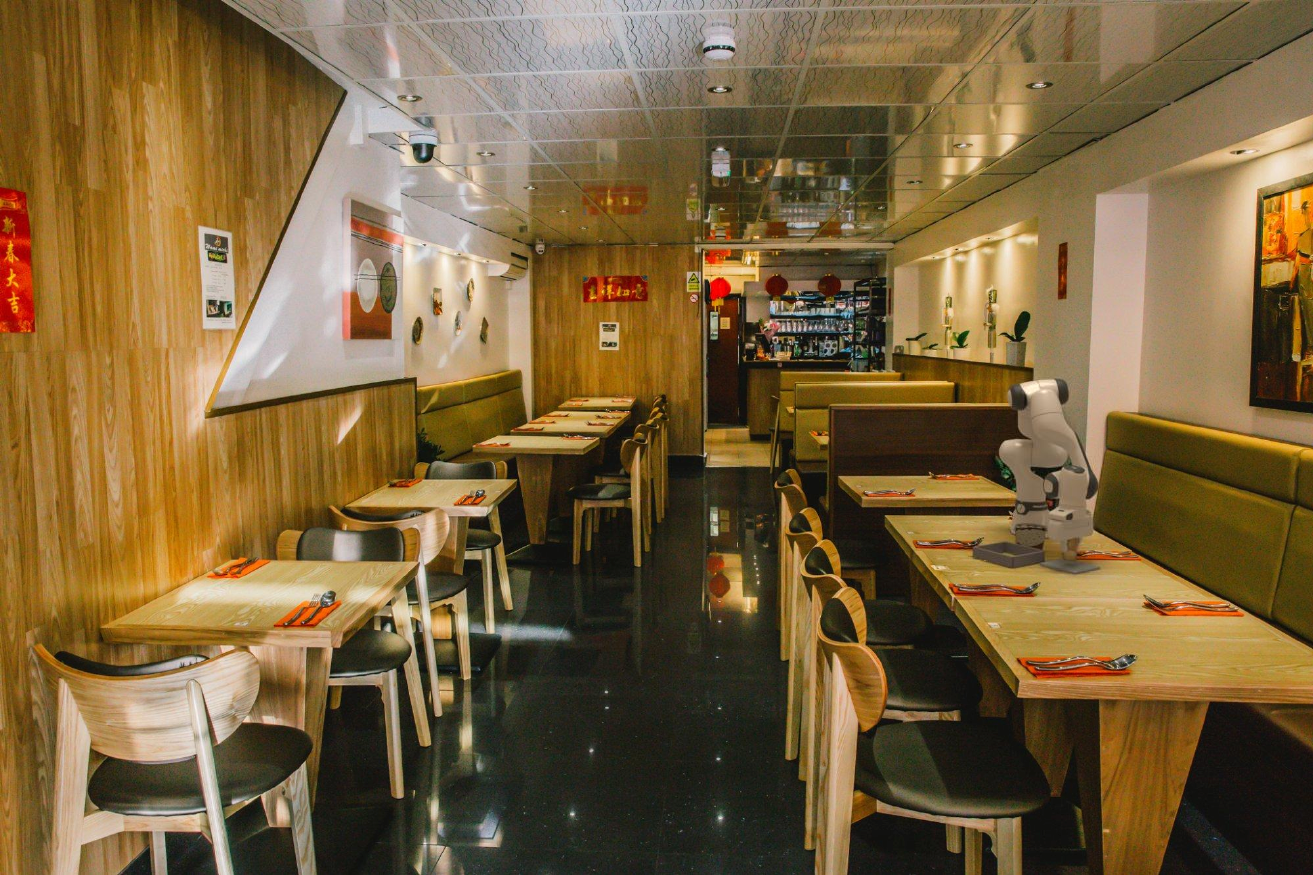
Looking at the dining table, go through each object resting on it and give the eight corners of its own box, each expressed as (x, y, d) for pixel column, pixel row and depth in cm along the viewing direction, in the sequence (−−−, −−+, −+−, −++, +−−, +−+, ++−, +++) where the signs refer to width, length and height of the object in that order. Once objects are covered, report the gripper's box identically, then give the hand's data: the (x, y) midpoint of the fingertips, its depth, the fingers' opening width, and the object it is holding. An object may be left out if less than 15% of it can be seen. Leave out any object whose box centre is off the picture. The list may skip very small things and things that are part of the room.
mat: (1065, 560, 322) (1065, 558, 322) (1100, 569, 310) (1100, 566, 310) (1039, 565, 316) (1039, 563, 316) (1074, 574, 304) (1074, 572, 303)
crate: (1004, 551, 336) (1005, 541, 335) (1045, 561, 320) (1046, 551, 320) (971, 557, 327) (971, 546, 327) (1011, 568, 312) (1012, 557, 311)
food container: (1041, 548, 340) (1042, 523, 339) (1046, 552, 334) (1047, 526, 333) (1008, 547, 341) (1009, 522, 340) (1012, 551, 335) (1014, 526, 334)
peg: (1068, 557, 316) (1069, 535, 315) (1079, 559, 312) (1080, 537, 311) (1060, 558, 313) (1061, 536, 313) (1071, 561, 310) (1072, 539, 309)
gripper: (1083, 507, 318) (1081, 545, 320) (1045, 513, 309) (1043, 552, 310) (1099, 510, 313) (1097, 549, 315) (1061, 516, 303) (1059, 556, 305)
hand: (1070, 550), depth 312 cm, fingers closed on peg, 4 cm apart
